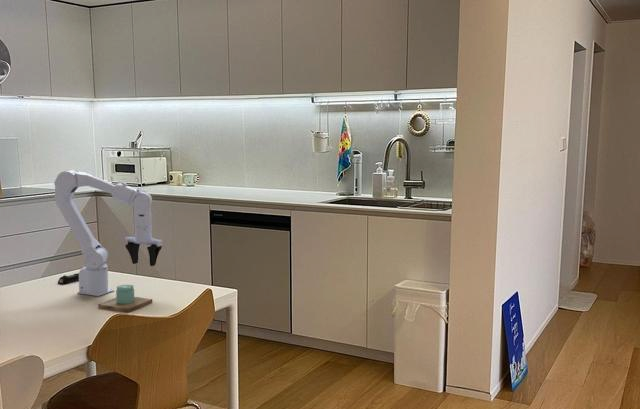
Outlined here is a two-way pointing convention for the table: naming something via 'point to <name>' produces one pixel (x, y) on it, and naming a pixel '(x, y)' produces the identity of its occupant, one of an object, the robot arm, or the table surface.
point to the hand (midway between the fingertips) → (143, 264)
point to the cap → (125, 294)
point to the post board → (128, 307)
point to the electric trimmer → (68, 279)
